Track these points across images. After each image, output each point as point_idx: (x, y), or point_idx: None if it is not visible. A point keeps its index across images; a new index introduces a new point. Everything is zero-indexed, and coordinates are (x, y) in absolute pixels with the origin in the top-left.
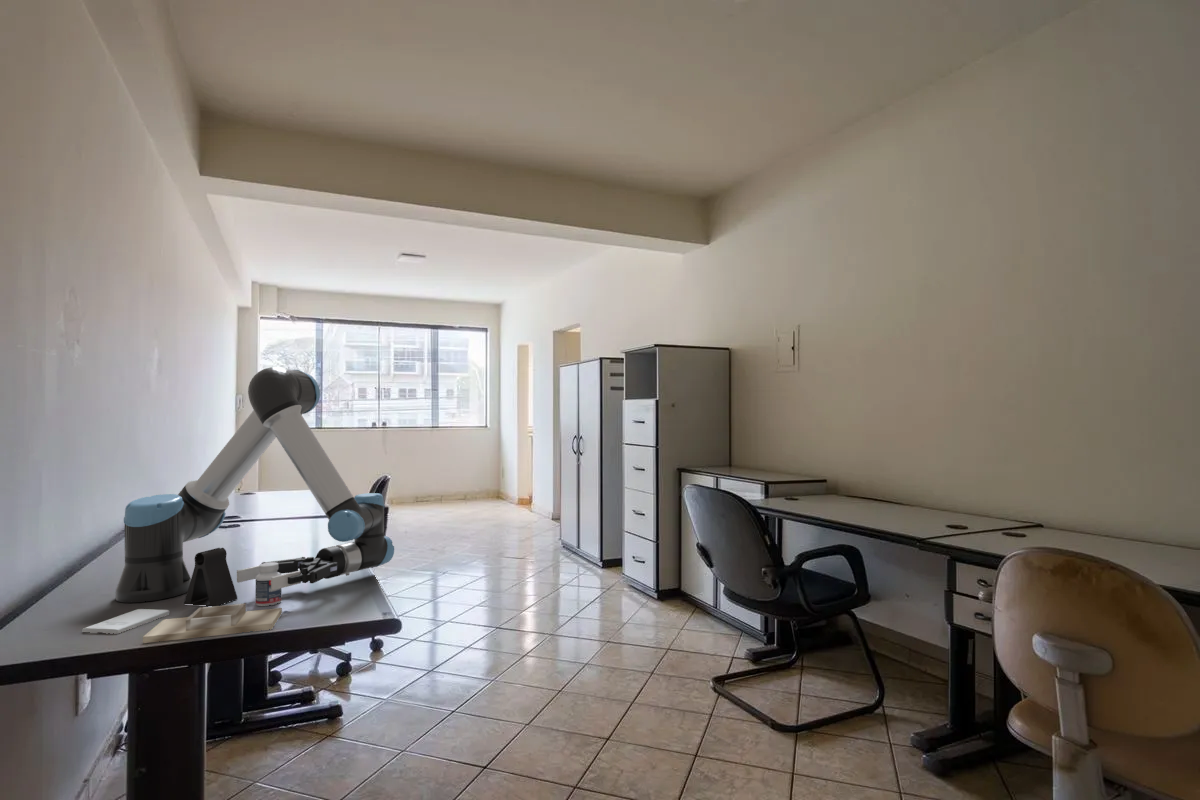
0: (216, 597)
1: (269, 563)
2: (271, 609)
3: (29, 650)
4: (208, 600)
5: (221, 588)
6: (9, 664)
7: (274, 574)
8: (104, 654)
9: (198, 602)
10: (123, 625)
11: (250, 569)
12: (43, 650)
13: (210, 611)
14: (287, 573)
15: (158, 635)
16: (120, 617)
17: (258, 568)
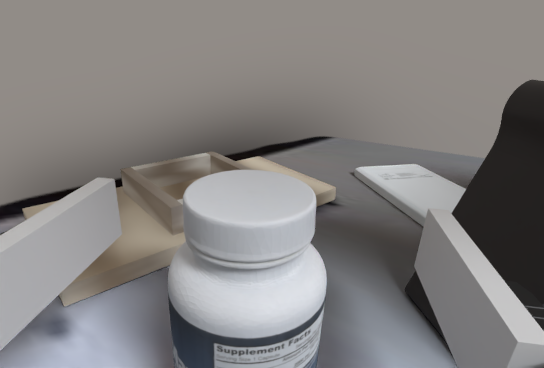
0: None
1: (268, 201)
2: (96, 268)
3: (376, 147)
4: None
5: None
6: (334, 137)
7: (187, 247)
8: (264, 151)
9: None
10: (373, 173)
11: (450, 253)
12: (360, 148)
13: None
14: (50, 221)
15: (240, 160)
16: (447, 187)
17: (473, 298)
